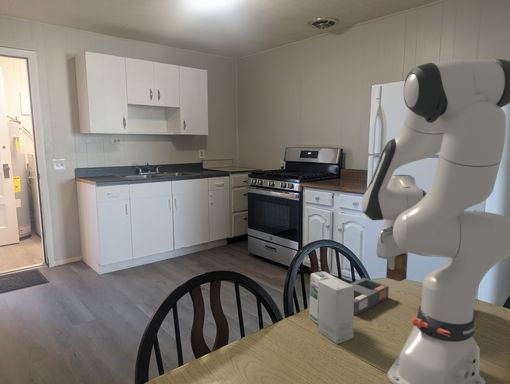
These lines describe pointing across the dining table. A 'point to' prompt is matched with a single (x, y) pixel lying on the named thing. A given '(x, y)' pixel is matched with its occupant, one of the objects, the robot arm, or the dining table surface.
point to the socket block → (368, 294)
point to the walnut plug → (398, 268)
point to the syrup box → (316, 294)
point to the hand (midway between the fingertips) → (396, 267)
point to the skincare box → (336, 309)
